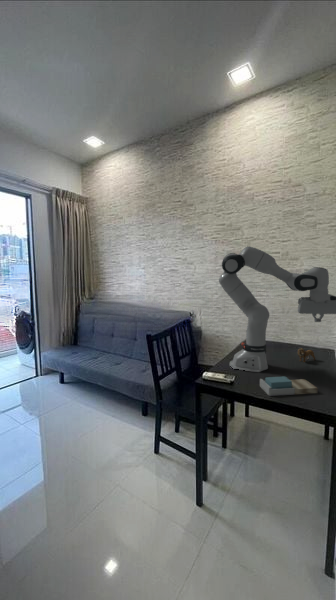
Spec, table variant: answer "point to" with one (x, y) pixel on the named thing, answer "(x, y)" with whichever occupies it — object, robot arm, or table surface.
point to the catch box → (276, 391)
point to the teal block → (278, 382)
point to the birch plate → (303, 387)
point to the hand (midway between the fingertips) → (317, 321)
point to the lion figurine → (305, 354)
